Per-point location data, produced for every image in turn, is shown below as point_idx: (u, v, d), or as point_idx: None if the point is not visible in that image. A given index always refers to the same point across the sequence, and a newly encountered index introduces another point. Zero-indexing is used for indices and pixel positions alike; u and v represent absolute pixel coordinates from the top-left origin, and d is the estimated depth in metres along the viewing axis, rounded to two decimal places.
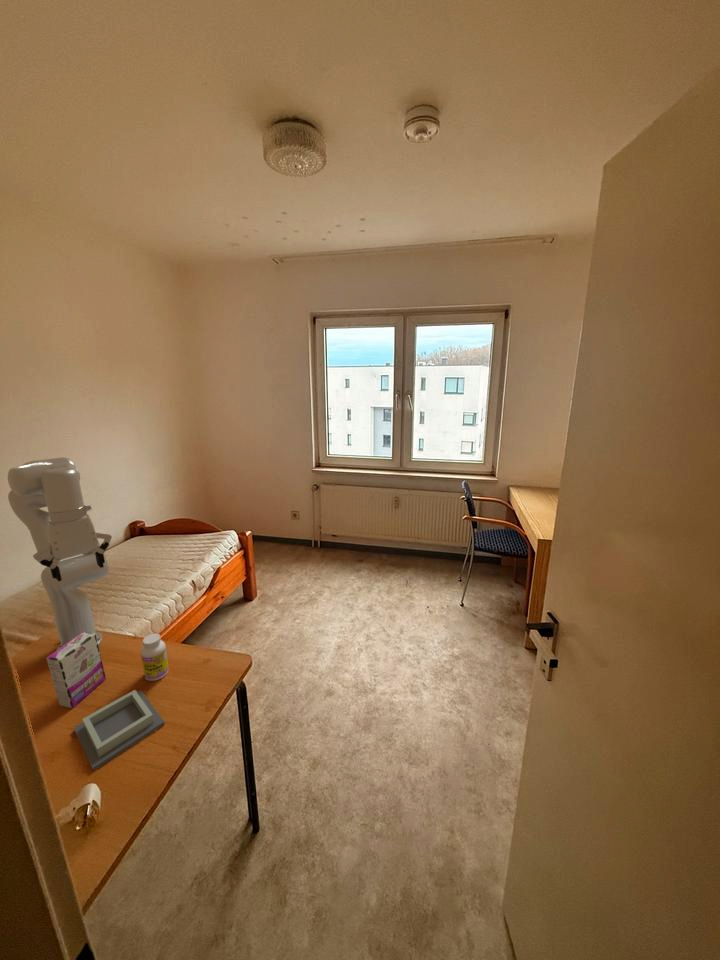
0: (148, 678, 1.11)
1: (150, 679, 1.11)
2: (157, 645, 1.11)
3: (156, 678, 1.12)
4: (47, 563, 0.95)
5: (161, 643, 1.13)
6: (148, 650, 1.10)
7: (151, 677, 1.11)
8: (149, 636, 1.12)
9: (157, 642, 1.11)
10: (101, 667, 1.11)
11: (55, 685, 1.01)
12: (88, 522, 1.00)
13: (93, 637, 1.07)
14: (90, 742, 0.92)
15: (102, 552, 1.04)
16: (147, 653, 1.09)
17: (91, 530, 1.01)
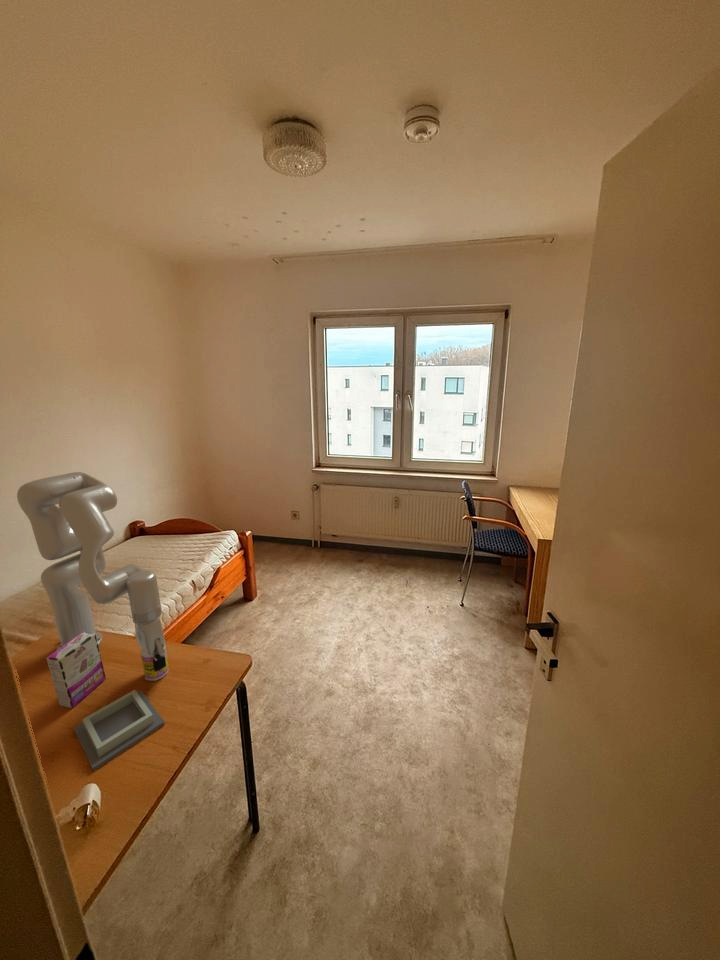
0: (148, 678, 1.11)
1: (150, 679, 1.11)
2: None
3: (156, 678, 1.12)
4: None
5: None
6: None
7: (151, 677, 1.11)
8: None
9: None
10: (101, 667, 1.11)
11: (55, 685, 1.01)
12: None
13: (93, 637, 1.07)
14: (90, 742, 0.92)
15: None
16: None
17: None
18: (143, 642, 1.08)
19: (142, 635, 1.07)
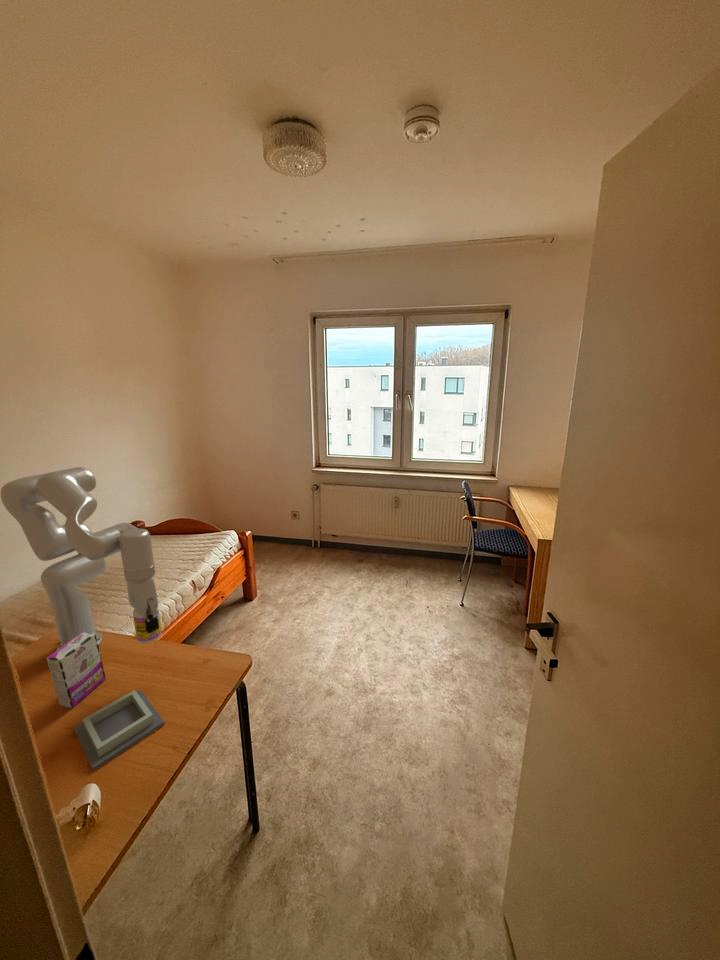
0: (140, 640, 1.08)
1: (142, 641, 1.08)
2: None
3: (148, 640, 1.08)
4: None
5: None
6: None
7: (144, 639, 1.08)
8: None
9: None
10: (101, 667, 1.11)
11: (55, 685, 1.01)
12: None
13: (93, 637, 1.07)
14: (90, 742, 0.92)
15: None
16: None
17: None
18: (135, 602, 1.04)
19: (134, 594, 1.04)
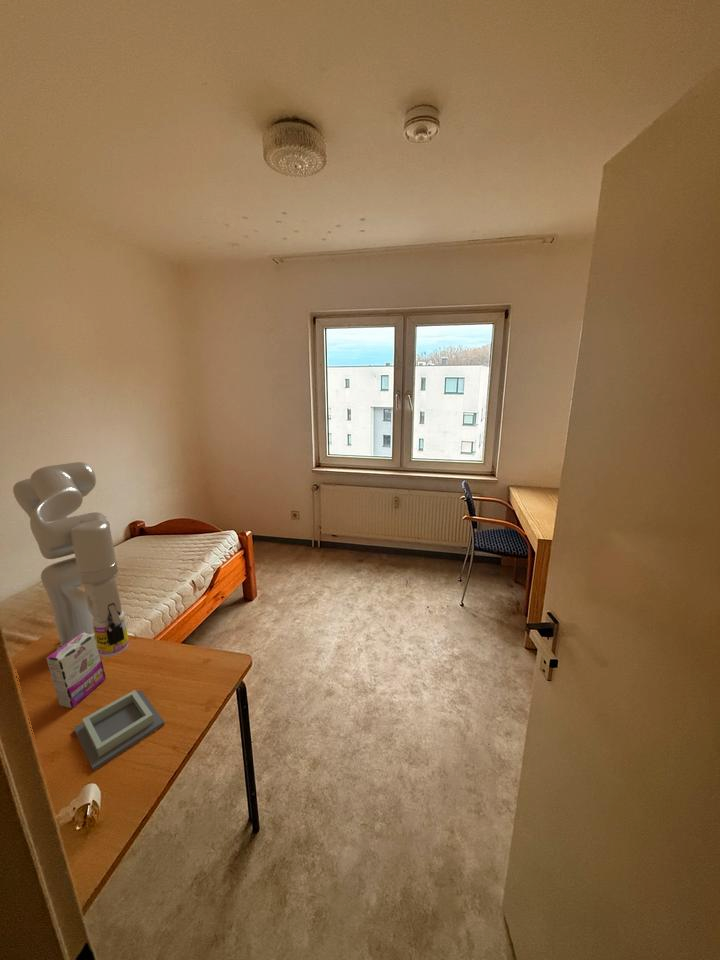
0: (102, 653, 0.91)
1: (104, 655, 0.91)
2: None
3: (112, 653, 0.91)
4: None
5: None
6: None
7: (106, 652, 0.91)
8: None
9: None
10: (101, 667, 1.11)
11: (55, 685, 1.01)
12: None
13: (93, 637, 1.07)
14: (90, 742, 0.92)
15: None
16: None
17: None
18: (94, 608, 0.87)
19: (92, 599, 0.87)
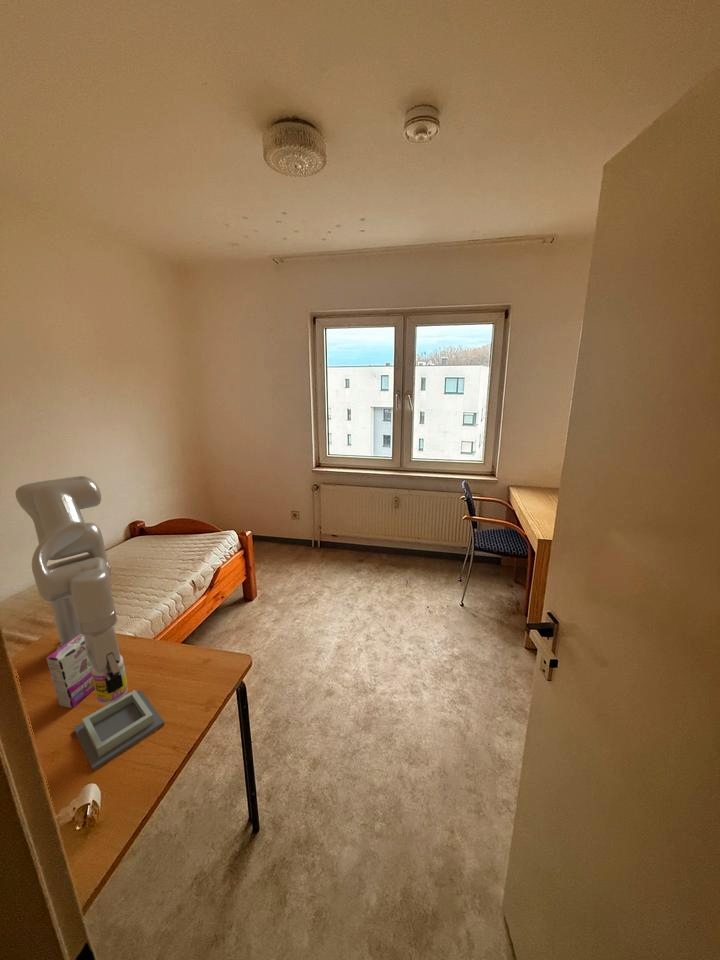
0: (101, 701, 0.91)
1: (103, 702, 0.91)
2: None
3: (111, 701, 0.91)
4: None
5: None
6: None
7: (105, 700, 0.91)
8: None
9: None
10: None
11: (55, 685, 1.01)
12: None
13: None
14: (90, 742, 0.92)
15: None
16: None
17: None
18: (92, 657, 0.87)
19: (91, 649, 0.86)
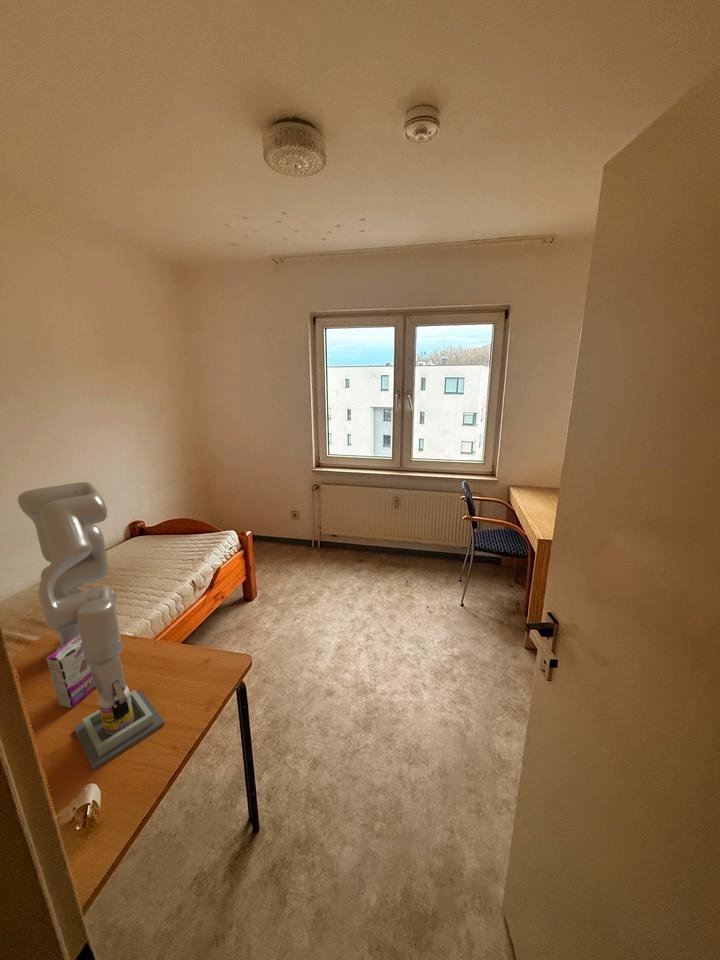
0: (107, 732, 0.93)
1: (110, 733, 0.93)
2: None
3: (117, 731, 0.94)
4: None
5: None
6: None
7: (111, 731, 0.93)
8: None
9: None
10: None
11: (55, 685, 1.01)
12: None
13: None
14: (90, 742, 0.92)
15: None
16: (105, 702, 0.91)
17: None
18: (98, 686, 0.89)
19: (97, 677, 0.88)
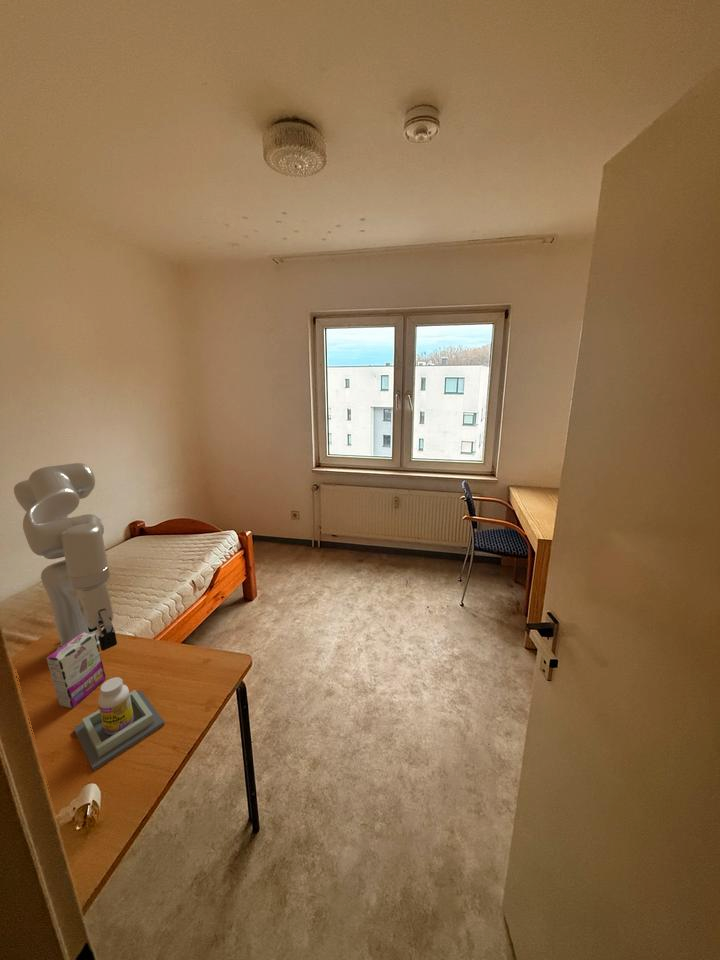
0: (107, 732, 0.93)
1: (110, 733, 0.93)
2: (119, 692, 0.93)
3: (117, 731, 0.94)
4: None
5: (124, 689, 0.95)
6: (107, 699, 0.92)
7: (111, 731, 0.93)
8: (109, 681, 0.94)
9: (118, 689, 0.93)
10: (101, 667, 1.11)
11: (55, 685, 1.01)
12: None
13: (93, 637, 1.07)
14: (90, 742, 0.92)
15: None
16: (105, 702, 0.91)
17: None
18: (84, 613, 0.85)
19: (83, 604, 0.84)
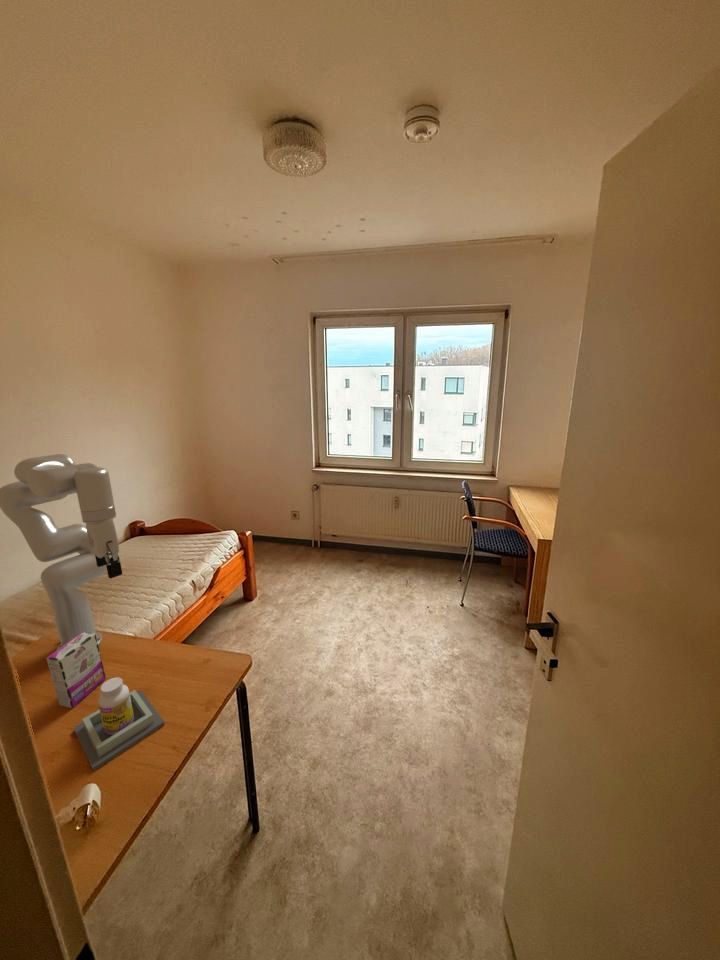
0: (107, 732, 0.93)
1: (110, 733, 0.93)
2: (119, 692, 0.93)
3: (117, 731, 0.94)
4: None
5: (124, 689, 0.95)
6: (107, 699, 0.92)
7: (111, 731, 0.93)
8: (109, 681, 0.94)
9: (118, 689, 0.93)
10: (101, 667, 1.11)
11: (55, 685, 1.01)
12: None
13: (93, 637, 1.07)
14: (90, 742, 0.92)
15: None
16: (105, 703, 0.91)
17: None
18: (94, 545, 0.98)
19: (92, 536, 0.97)
